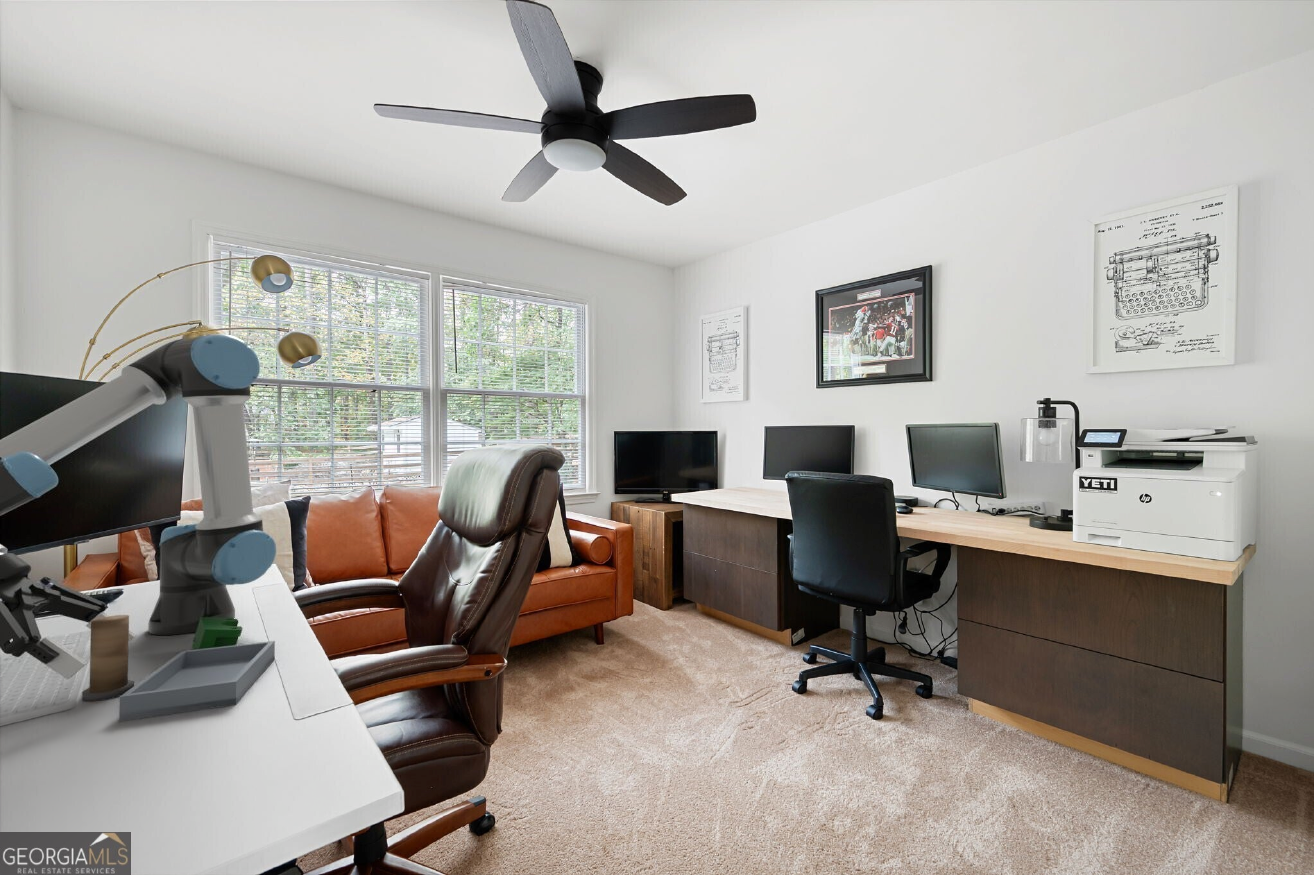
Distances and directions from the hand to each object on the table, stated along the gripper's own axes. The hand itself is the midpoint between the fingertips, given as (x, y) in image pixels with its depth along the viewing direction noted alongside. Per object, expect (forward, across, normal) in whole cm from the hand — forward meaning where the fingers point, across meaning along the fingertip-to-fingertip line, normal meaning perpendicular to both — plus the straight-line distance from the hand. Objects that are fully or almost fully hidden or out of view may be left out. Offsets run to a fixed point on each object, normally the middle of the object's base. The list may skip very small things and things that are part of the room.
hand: (104, 655), depth 88 cm
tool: (+5, -1, -4) cm, 6 cm away
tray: (+14, +2, +6) cm, 16 cm away
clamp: (+11, -18, +2) cm, 22 cm away
